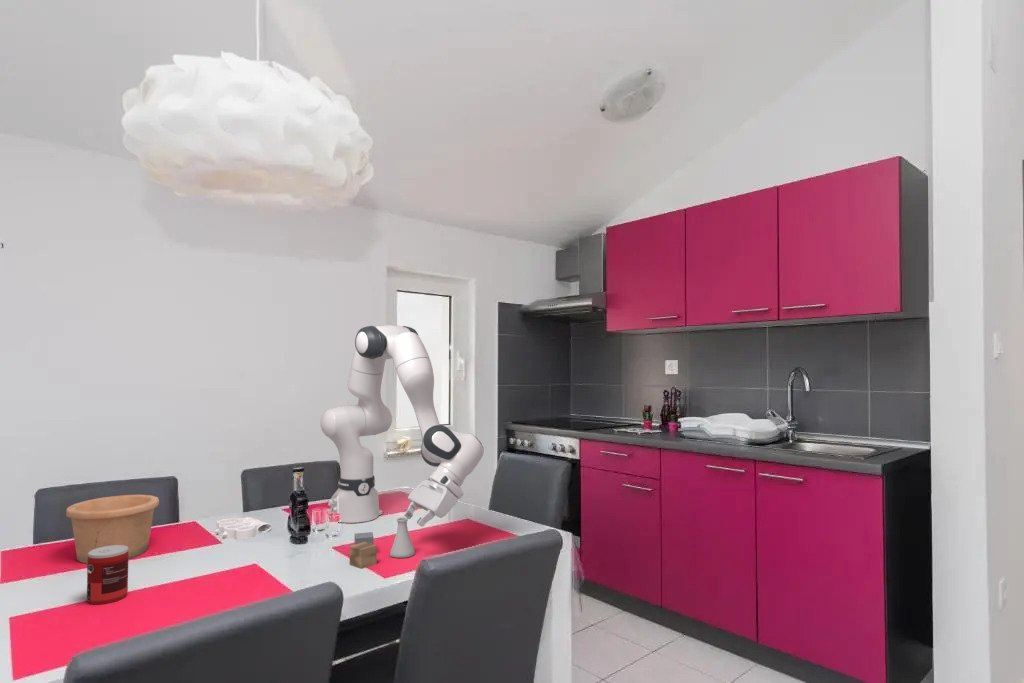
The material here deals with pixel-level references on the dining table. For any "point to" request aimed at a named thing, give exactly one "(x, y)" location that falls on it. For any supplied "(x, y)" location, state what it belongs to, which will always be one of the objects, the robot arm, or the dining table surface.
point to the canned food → (107, 574)
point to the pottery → (112, 523)
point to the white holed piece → (241, 528)
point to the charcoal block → (364, 538)
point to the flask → (402, 541)
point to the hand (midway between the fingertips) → (412, 521)
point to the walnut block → (363, 555)
